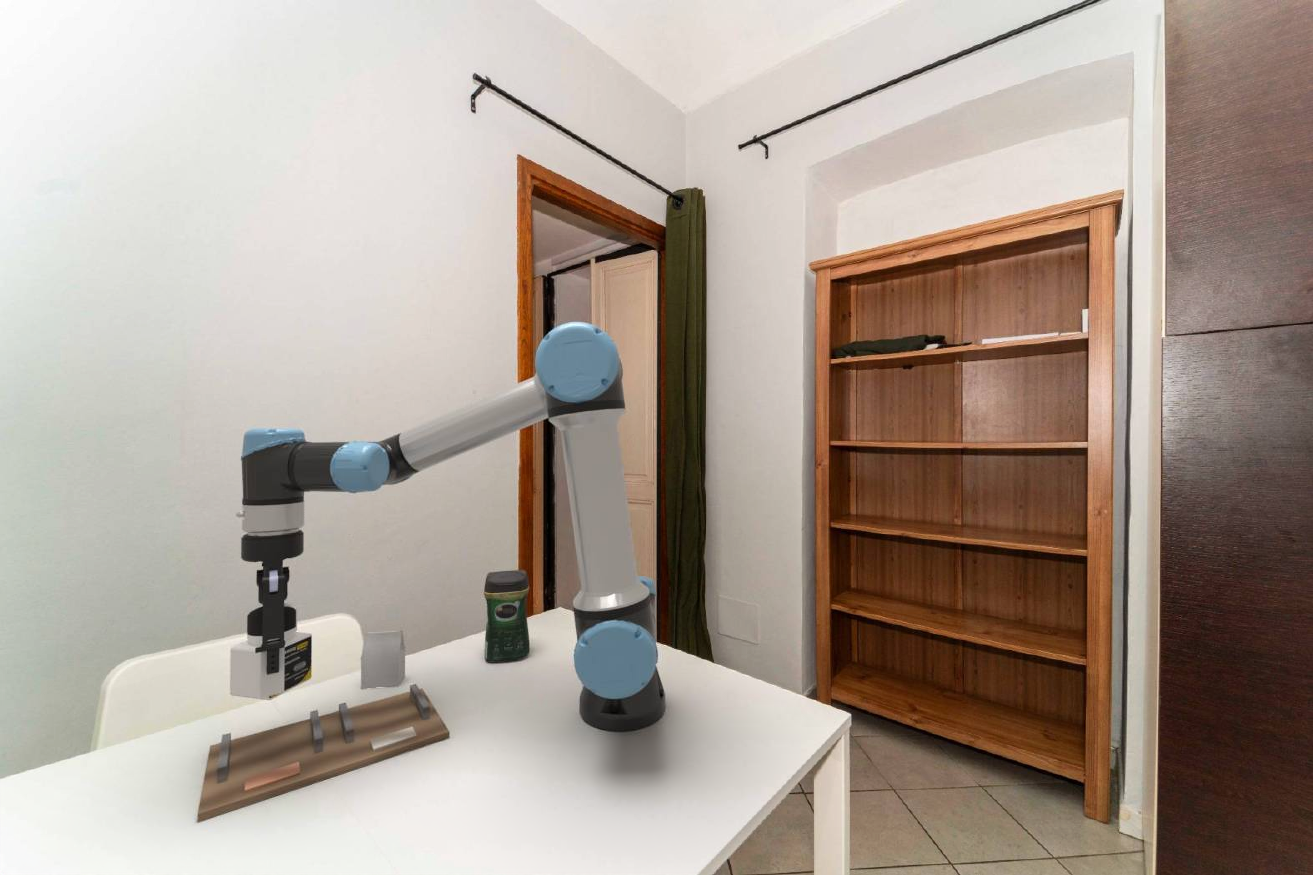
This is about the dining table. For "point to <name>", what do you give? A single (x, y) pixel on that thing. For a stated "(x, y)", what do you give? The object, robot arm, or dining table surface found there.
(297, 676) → the medicine bottle
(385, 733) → the stand
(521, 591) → the coffee jar
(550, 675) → the dining table surface
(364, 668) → the grey boxy piece
